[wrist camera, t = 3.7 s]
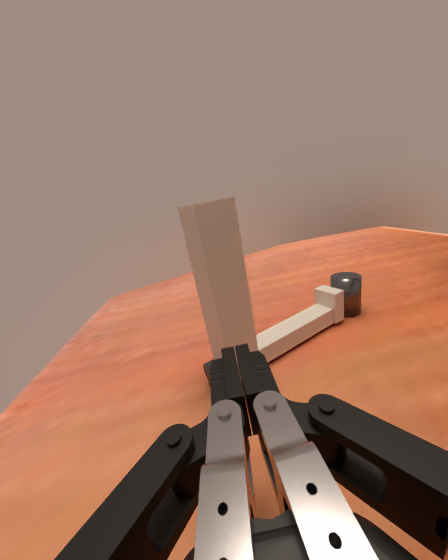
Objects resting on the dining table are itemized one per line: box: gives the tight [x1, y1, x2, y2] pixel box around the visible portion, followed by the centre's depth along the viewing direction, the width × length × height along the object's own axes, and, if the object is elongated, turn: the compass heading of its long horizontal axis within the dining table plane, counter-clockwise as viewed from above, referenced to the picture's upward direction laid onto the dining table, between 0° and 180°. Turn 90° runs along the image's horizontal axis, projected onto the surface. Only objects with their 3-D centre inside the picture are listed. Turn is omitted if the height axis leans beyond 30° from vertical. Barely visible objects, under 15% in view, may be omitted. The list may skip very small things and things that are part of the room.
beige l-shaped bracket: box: [178, 197, 344, 384], centre depth 24 cm, size 19×4×17 cm, turn 120°
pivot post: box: [331, 272, 361, 317], centre depth 31 cm, size 4×4×5 cm
